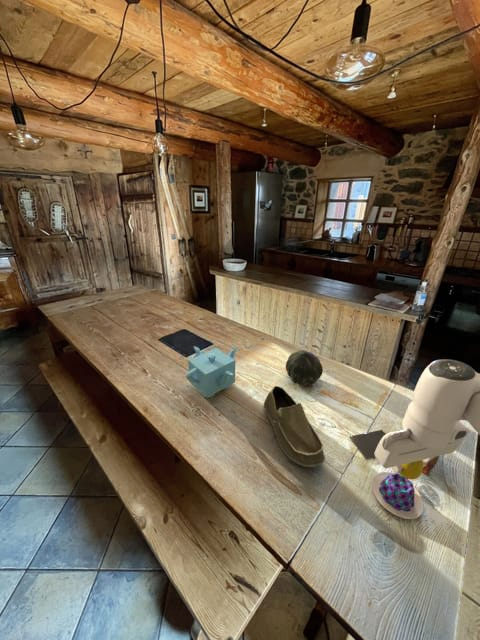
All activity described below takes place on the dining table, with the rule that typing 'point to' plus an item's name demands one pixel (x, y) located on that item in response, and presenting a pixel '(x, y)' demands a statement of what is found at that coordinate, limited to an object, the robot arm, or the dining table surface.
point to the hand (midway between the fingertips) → (408, 467)
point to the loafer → (293, 429)
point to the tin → (430, 465)
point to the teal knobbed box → (211, 371)
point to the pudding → (397, 495)
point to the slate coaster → (368, 442)
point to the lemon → (412, 470)
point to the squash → (304, 367)
